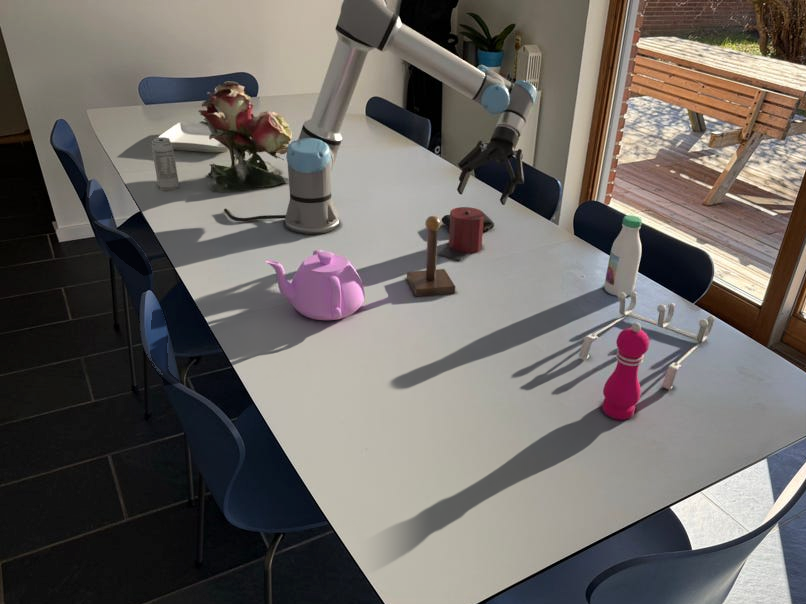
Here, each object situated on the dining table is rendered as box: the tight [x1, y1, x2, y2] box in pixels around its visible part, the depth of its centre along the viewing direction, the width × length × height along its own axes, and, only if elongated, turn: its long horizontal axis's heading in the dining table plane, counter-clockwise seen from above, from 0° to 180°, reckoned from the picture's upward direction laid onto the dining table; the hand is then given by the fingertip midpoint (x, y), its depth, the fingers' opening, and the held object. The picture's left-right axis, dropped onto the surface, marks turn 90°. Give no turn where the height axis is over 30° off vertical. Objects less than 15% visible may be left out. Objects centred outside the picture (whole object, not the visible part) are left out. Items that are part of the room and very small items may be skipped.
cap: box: [437, 206, 484, 262], centre depth 200 cm, size 14×10×11 cm, turn 153°
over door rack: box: [578, 290, 716, 391], centre depth 162 cm, size 22×29×10 cm
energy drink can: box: [150, 136, 180, 191], centre depth 223 cm, size 6×6×15 cm
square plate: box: [156, 121, 230, 154], centre depth 265 cm, size 27×27×4 cm
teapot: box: [265, 249, 366, 321], centre depth 165 cm, size 22×22×14 cm
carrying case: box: [440, 212, 495, 232], centre depth 216 cm, size 11×3×15 cm
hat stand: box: [406, 215, 456, 297], centre depth 178 cm, size 10×10×19 cm
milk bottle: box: [603, 214, 643, 297], centre depth 183 cm, size 8×8×20 cm
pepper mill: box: [602, 322, 650, 420], centre depth 138 cm, size 7×7×20 cm
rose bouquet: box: [197, 80, 293, 193], centre depth 232 cm, size 26×29×30 cm
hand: (480, 197), depth 204 cm, fingers open, 13 cm apart
